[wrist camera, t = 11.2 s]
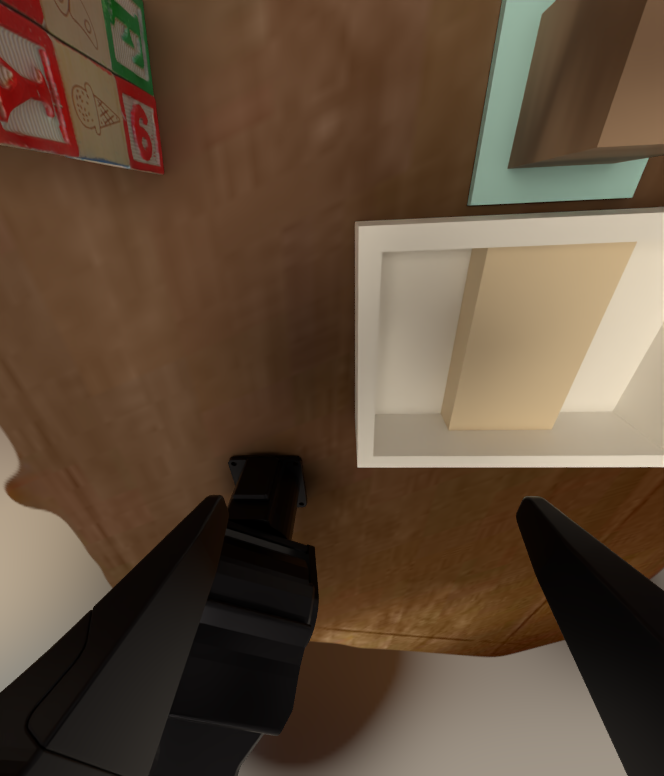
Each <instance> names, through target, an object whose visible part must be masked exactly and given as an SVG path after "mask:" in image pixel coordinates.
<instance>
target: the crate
mask: <svg viewBox="0 0 664 776" xmlns="http://www.w3.org/2000/svg"><path fill="white" fill-rule="evenodd" d="M355 428H356V449H357V467H664V207H652V208H631V209H610V210H589V211H567V212H546V213H525V214H504V215H482V216H461V217H440V218H419V219H397V220H376V221H355Z"/></svg>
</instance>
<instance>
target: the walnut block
mask: <svg viewBox="0 0 664 776" xmlns="http://www.w3.org/2000/svg"><path fill="white" fill-rule="evenodd" d="M662 155H664V0H556V1H555V2H554V3H553V4H552V5H551V6H550V7H549V8H547V9H546V10H545V11H544V12H543V13H542V16H541V20H540V25H539V29H538V34H537V38H536V42H535V47H534V51H533V56H532V60H531V65H530V69H529V74H528V78H527V83H526V87H525V92H524V96H523V101H522V105H521V110H520V114H519V119H518V123H517V128H516V132H515V137H514V141H513V146H512V150H511V155H510V159H509V164H508V168H507V169H514V168H533V167H553V166H573V165H593V164H613V163H619V162H626V161H632V160H638V159H644V158H650V157H656V156H662Z"/></svg>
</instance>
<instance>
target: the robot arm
mask: <svg viewBox="0 0 664 776" xmlns="http://www.w3.org/2000/svg"><path fill="white" fill-rule="evenodd" d="M296 462H297V463H296ZM228 464H229V467H230V470H231V474H232V477H233V480H234V483H235V489H234V491H233V494H232V496H231V499H230V502H229V504H228V507H227V506H226V503H225V500H224V498H223V496H221V495H209V496H207V497H206V498H205V499H204V500H203V501H202V502H201V503H200V504H199V505H198V506H197V507H196V508H195V509H194V510H193V511H192V512H191V513H190V514H189V515H188V516H187V517H185V518H184V519H183V520H182V521H181V522H180V523H179V524H178V525H177V526H176V527H175V528H174V529H173V530H172V531H171V532H170V533H169V534H168V535H167V536H166V537H165V538H164V539H163V540H162V541H161V542H160V543H159V544H158V545H157V546H156V547H155V548H154V549H153V550H152V551H151V552H150V553H149V554H147V555H146V556H145V557H144V558H143V559H142V560H141V561H140V562H139V563H138V564H137V565H136V566H135V567H134V568H133V569H132V570H131V571H130V572H129V573H128V574H127V575H126V576H125V577H124V578H123V579H122V580H121V581H120V582H119V583H118V584H117V585H116V586H115V587H114V588H113V589H112V590H111V591H110V592H108V593H107V594H106V595H105V596H104V597H103V598H102V599H101V600H100V601H99V602H98V603H97V604H96V605H95V606H94V607H93V610H90V611H89V612H88V613H87V614H86V615H85V616H84V617H83V618H82V619H81V620H80V621H79V622H77V624H75V625H74V626H73V627H72V628H71V629H70V630H69V631H68V632H67V633H66V634H65V635H64V636H63V637H62V638H61V639H60V640H58V642H57V643H55V644H54V645H53V646H52V647H51V648H50V649H49V650H48V651H47V652H46V653H45V654H43V655H42V656H41V657H40V658H39V659H38V660H37V661H36V662H35V663H33V664H32V665H31V666H30V667H29V668H28V669H27V670H25V671H24V672H23V673H22V674H21V675H20V676H19V677H18V678H17V679H15V680H14V681H13V682H12V683H11V684H10V685H8V686H7V687H6V688H5V689H4V690H3V691H2V692H0V776H238V772H239V769H240V767H241V765H242V763H243V762H244V761H245V759H246V757H248V755H249V754H250V752H251V751H252V750H253V748H254V747H255V745H256V744H257V743H258V741H259V740H260V739H261V737H262V736H263V734H269V735H275V736H278V735H279V734H280V733H281V731H282V729H283V728H284V726H285V724H286V722H287V720H288V718H289V716H290V714H291V712H292V710H293V704H294V699H295V693H296V687H297V681H298V675H299V670H300V665H301V661H302V657H303V653H304V649H305V647H306V646H307V644H308V642H309V641H310V638H311V636H312V633H313V630H314V627H315V623H316V618H317V612H318V603H319V594H318V582H317V570H316V559H315V547H314V546H311V545H304V544H301V543H298V542H295V541H291V540H292V534H293V527H294V521H295V515H296V509H297V507H305V506H306V504H307V497H306V489H305V482H304V474H303V467H302V460H301V458H299V457H296V456H259V457H231V458H230V460H229V462H228ZM516 519H517V523H518V526H519V529H520V532H521V535H522V538H523V541H524V543H525V546H526V549H527V552H528V555H529V558H530V561H531V563H532V566H533V569H534V572H535V574H536V577H537V579H538V582H539V584H540V586H541V588H542V590H543V593H544V595H545V597H546V599H547V601H548V604H549V606H550V608H551V610H552V612H553V614H554V617H555V619H556V621H557V623H558V625H559V627H560V630H561V632H562V634H563V636H564V638H565V641H566V642H567V645H568V647H569V649H570V651H571V654H572V656H573V658H574V660H575V662H576V664H577V666H578V669H579V671H580V673H581V675H582V677H583V680H584V682H585V684H586V686H587V688H588V690H589V693H590V695H591V697H592V699H593V701H594V703H595V706H596V708H597V710H598V712H599V714H600V717H601V719H602V721H603V723H604V725H605V727H606V730H607V732H608V734H609V736H610V738H611V741H612V743H613V745H614V747H615V749H616V751H617V753H618V756H619V758H620V760H621V762H622V764H623V767H624V769H625V771H626V773H627V775H628V776H664V591H663V590H662V589H661V588H659V587H658V586H657V585H656V584H654V583H653V582H651V581H650V580H649V579H648V578H646V577H645V576H644V575H643V574H641V573H640V572H639V571H637V570H636V569H635V568H633V567H632V566H631V565H630V564H628V563H627V562H626V561H624V560H623V559H622V558H620V557H619V556H618V555H617V554H615V553H614V552H613V551H611V550H610V549H609V548H607V547H606V546H605V545H603V544H602V543H601V542H600V541H598V540H597V539H596V538H594V537H593V536H592V535H590V534H589V533H588V532H587V531H585V530H584V529H583V528H581V527H580V526H579V525H577V524H576V523H575V522H574V521H572V520H571V519H570V518H568V517H567V516H566V515H564V514H563V513H562V512H561V511H559V510H558V509H557V508H555V507H554V506H553V505H551V504H550V503H549V502H548V501H546V500H545V499H543V498H542V497H539V496H526V497H524V498H523V500H522V502H521V504H520V506H519V509H518V511H517V513H516Z"/></svg>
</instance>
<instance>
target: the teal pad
mask: <svg viewBox="0 0 664 776" xmlns="http://www.w3.org/2000/svg"><path fill="white" fill-rule="evenodd" d="M555 1H556V0H502V4H501V10H500V16H499V22H498V28H497V34H496V40H495V45H494V51H493V57H492V63H491V69H490V75H489V81H488V86H487V92H486V98H485V104H484V110H483V116H482V122H481V127H480V133H479V139H478V145H477V151H476V157H475V162H474V168H473V174H472V180H471V186H470V192H469V198H468V203H467V205H490V204H510V203H531V202H551V201H571V200H592V199H612V198H632V197H633V194H634V192H635V190H636V187H637V185H638V182H639V180H640V178H641V175H642V173H643V170H644V168H645V166H646V163H647V161H648V159H649V158H644V159H638V160H632V161H626V162H619V163H613V164H593V165H573V166H553V167H533V168H514V169H507V168H508V164H509V159H510V155H511V150H512V146H513V141H514V137H515V132H516V128H517V123H518V119H519V114H520V110H521V105H522V101H523V96H524V92H525V87H526V83H527V78H528V74H529V69H530V65H531V60H532V56H533V51H534V47H535V42H536V38H537V34H538V29H539V25H540V20H541V16H542V13H543V12H544V11H545V10H546V9H547V8H549V7H550V6H551V5H552V4H553V3H554V2H555Z"/></svg>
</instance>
